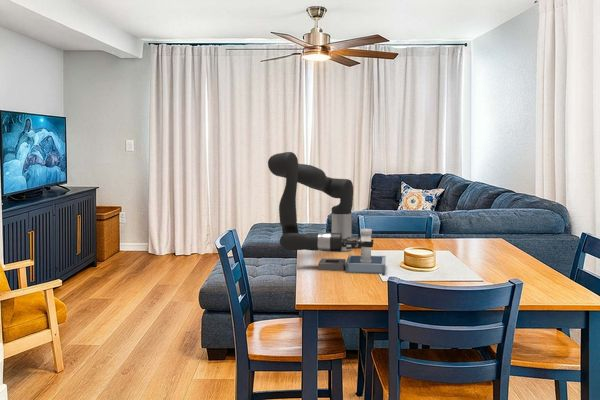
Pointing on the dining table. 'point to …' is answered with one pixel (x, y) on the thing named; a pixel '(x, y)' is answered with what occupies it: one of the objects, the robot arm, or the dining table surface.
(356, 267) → the parts tray
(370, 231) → the fuse
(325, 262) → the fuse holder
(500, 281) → the dining table surface
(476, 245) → the dining table surface
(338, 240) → the robot arm
